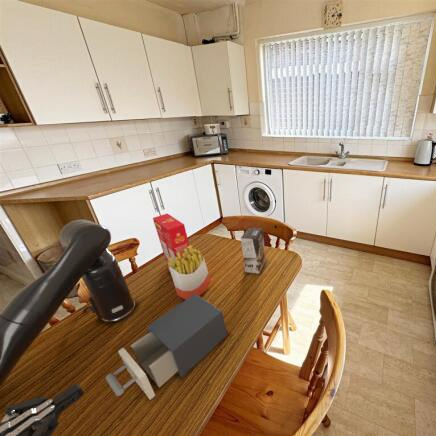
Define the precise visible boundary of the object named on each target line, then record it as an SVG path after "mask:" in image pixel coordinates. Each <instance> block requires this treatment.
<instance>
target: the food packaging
mask: <svg viewBox="0 0 436 436" xmlns="http://www.w3.org/2000/svg"><path fill="white" fill-rule="evenodd" d="M152 220H153V224H154V227H155V230H156V232H157V233H156V234H157V237H158V239H159V243H160V247H161V249H162V253H163V255H164V259H165V263H166V265H167V270H168V272H169V274H171V272H170V269H169V266H170V264H169V261H168V259H169V258H172V259H173V261H174V263H175V260H174V257H177V258H178V256H177V253H178V252H179V253H180V256H181V258H183V257H182V254H183V253H185V252H184V249H185V248H186V249H187V247H188V246H190V243H189V239H188V234H187V231H186V230H187V229H186V226H185V223H183V222H182V221H180V220H178V219H177V218H175V217H174V216H172V215H171V214H169V213H164V214H160V215H158V216H154V217H152ZM187 251H188V249H187ZM188 253H189V251H188ZM178 261H179V260H178Z"/></svg>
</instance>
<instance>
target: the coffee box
mask: <svg viewBox="0 0 436 436" xmlns="http://www.w3.org/2000/svg"><path fill="white" fill-rule="evenodd" d="M240 242H241V243H240V244H241V251H242V257H243V265H244V273H249V274H258V275H259V274H260V273H261V271H262V269H263V267H264V265H265V263H266V262H267V260H266V248H265V238H264V229H263V228H261V227H248V228H247V229H246V231H245V232H244V233H243V234H242V235H241V237H240Z"/></svg>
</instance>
